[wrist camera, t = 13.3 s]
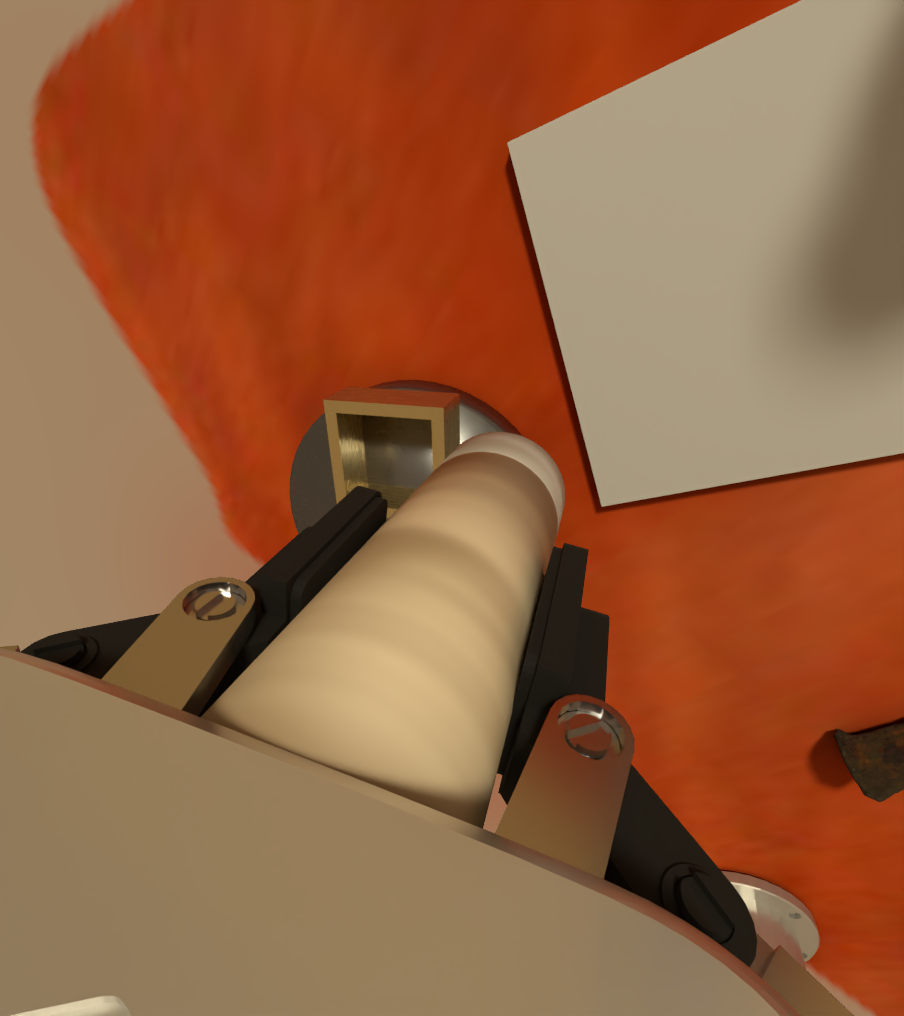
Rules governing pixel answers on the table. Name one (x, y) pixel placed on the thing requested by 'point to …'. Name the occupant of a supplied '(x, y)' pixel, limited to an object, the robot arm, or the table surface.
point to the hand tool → (875, 759)
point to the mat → (732, 254)
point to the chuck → (383, 443)
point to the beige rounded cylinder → (418, 635)
